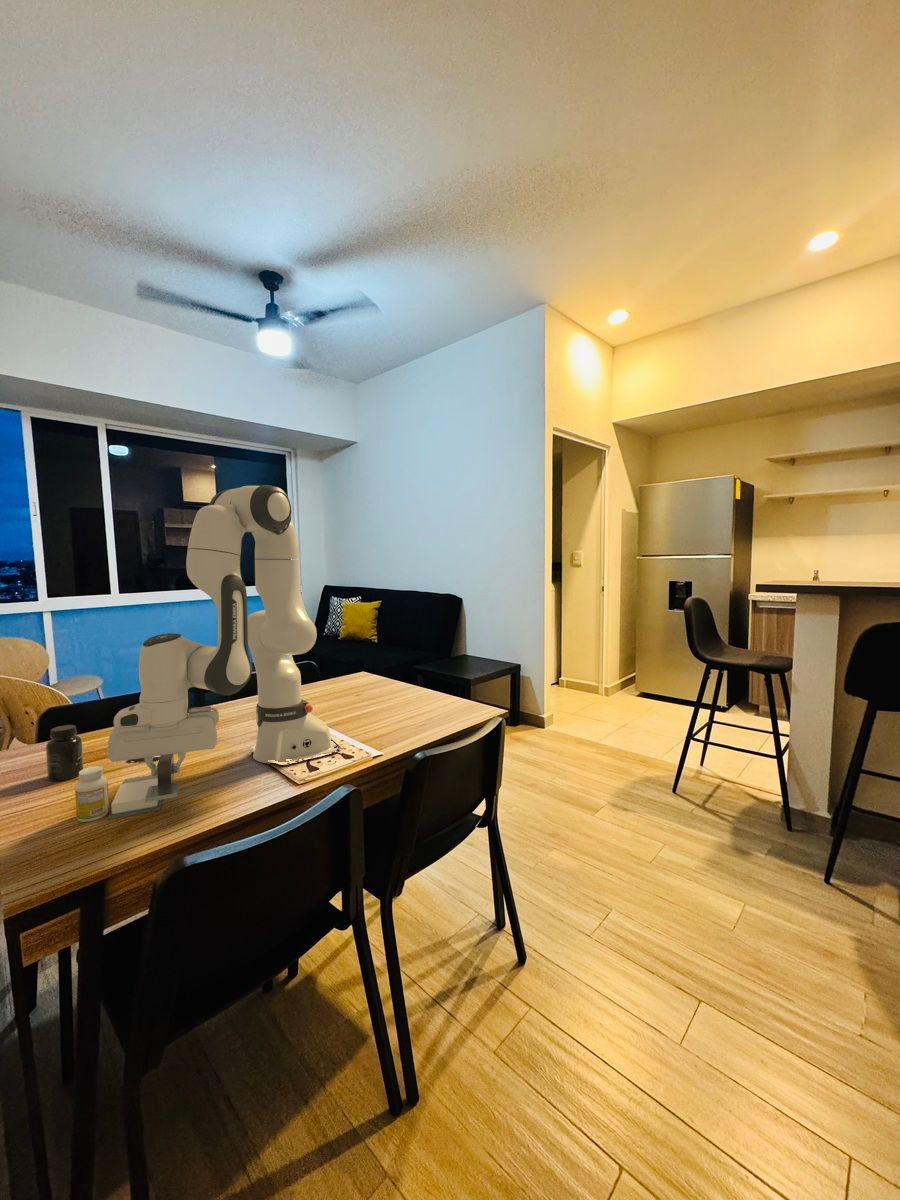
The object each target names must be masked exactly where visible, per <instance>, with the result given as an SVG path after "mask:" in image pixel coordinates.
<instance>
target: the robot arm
mask: <svg viewBox="0 0 900 1200" xmlns="http://www.w3.org/2000/svg"><path fill="white" fill-rule="evenodd" d="M291 521H292V505H291V501H290V499H289V496H288V494H287V493H286V492H285V491H284V490H283V489H282V488H280V487H278V486H274V485H269V484H268V485H267V484H262V485H244V486H241V487H236V488H231V489H229V488H228V489H224V490H222V491H219V492H217V493H216V494H215V495H214V496H213V497H212V498H211V500H210V502H209V503H208V505H205V506H202V507H201V508H199V510H198V511H197V512H196V514H195V517H194V520H193V523H192V527H191V529H190V533H189V539H188V545H187V553H186V562H185V563H186V565H185V567H186V573H187V577H188V579H189V580H190V581H191V583H192V584H193V585H194V586H195V587H196V588H197V589H199V590H200V591H201V592H204V594H206V595H207V596H208V597H209V598H210V599H211V600H212V601H213V603H214V604H215V606H216V611H217V646H214V645H208V644H203V643H199V642H196V641H193V640H190V639H188V638H186V637H184V636H183V635H182V634H181V633H174V632H170V633H169V632H168V633H162V634H157V635H154V636H152V637H149V638H147V639H146V640H144V641H143V643H142V645H141V647H140V652H139V657H138V658H139V659H138V680H139V683H140V687H141V688H140V689H141V692H140V695H139V703H137V704H134V705H131V706H129V707H128V706H127V707H126V708H123V709H120V710H119V711H118V712H117V713H116V714H115V716H114V718H113V726H114V728H112V730H111V732H110V733H109V736H108V742H107V754H106V755H107V759H108V760H110V761H111V762H112V763H113V762H123V761H128V760H131V759H138V758H145V762H144V763H145V765H146V766H147V767H148V768H149V770H151V771H150V773H151V774H150V775H151V776H152V777H153V776H158V774H157V765H158V764H157V765H156V764H155V763H154V762H155V761H152V760H153V758H154V756H161V755H169V754H174V755H175V754H177V758H178V760H177V762H174V763H173V765H172V774H174V775H175V774H180V773H181V765H182V763H183V761H184V760H185V759H186V754H187V753H189V752H190V753H191V752H198V751H206V750H207V751H208V750H212V749H215V747H217V745H218V741H219V740H218V729H217V725H218V724H219V720H220V717H219V715H220V714H219V710H218V709H217V708H215V707H211V706H208V705H207V706H203V707H189V697H188V696H189V693H188V690H189V689H191V688H198V689H203V690H208V691H211V692H213V693H216V694H219V695H222V696H231V695H233V694H236V693H238V692H240V691H241V690H242V689H243V688H244V687H245V686H246V685H247V683H249V681H250V678H251V676H252V672H253V671H252V670H253V664H254V668H255V672H256V680H257V704H256V709H255V717H256V718H255V719H256V721H255V722H256V725H257V733H256V742H255V745H254V746H255V748H254V751H253V754H252V757H253V759H254V760H255V761H257V762H260V763H262V764H269V763H268V760H275V761H278V762H289V761H286V759H292V760H290V761H294V760H299V759H304V758H308V757H311V756H316V755H321V754H326V753H329V752H334V751H336V750H337V749H338V747H337V748H334V747H336V746H337V745H336V744H335V743H334V742H333V741H331V736H332V735H331V732H330V729H329V726H328V725H327V723H326V722H325V721H324V720H322V719H320V718H318V716H315V715H314V714H312V711H313V705H312V704H311V703H309V702H308V701H307V700H306V699H302V677H301V671H300V669H299V668H298V666H297V665H296V663H295V661H294V658H293V656H296V655H302V654H305V653H307V652H309V651H310V650H311V649H312V648H313V647H314V645H315V644H316V641H317V635H318V633H317V627H316V625H315V624H314V622H313V621H312V620H311V618H310V616H308V613H307V609H306V607H305V604H304V603H305V602H304V599H303V597H302V592H301V585H300V583H301V582H300V581H301V580H300V560H299V559H300V553H299V552H300V551H299V541H298V536H297V532H296V528H295V525H294V523H293V522H291ZM245 533H251V534H252V537H253V539H254V542H255V544H254V545H255V546H254V578H255V579H254V581H255V582H254V583H255V584H254V585H255V590H256V592H257V593H258V595H259V597H260V598H261V602H262V604H263V608H264V609H262V610H257V611H255V612H252V613H250V614H248V594H247V588H246V584H245V582H244V581H243V579H242V574H241V554H242V553H241V552H242V540H243V537H244V535H245ZM249 649H250V650H249ZM251 657H252V658H251ZM252 661H253V664H252Z"/></svg>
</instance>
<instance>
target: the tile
mask: <svg viewBox="0 0 900 1200" xmlns="http://www.w3.org/2000/svg"><path fill="white" fill-rule="evenodd" d="M123 783H124V782H123ZM123 783H120V785H119V786H118V788H117V791H116V793H115V796H114V798H113V800H112V802H111V810H112V814H113V815H115V814H120V813H126V812H131V811H137V810H142V809H148V808H153V807H157V805H158V801H159V800H155V801H149V802H145V797H146V794H147V791H148V788H149V786H155V785H158V778H155V779H149V780H143V781H137V782H130V783H124V784H123Z"/></svg>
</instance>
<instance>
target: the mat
mask: <svg viewBox="0 0 900 1200" xmlns="http://www.w3.org/2000/svg"><path fill="white" fill-rule="evenodd" d="M155 778H158V776H153V777H152V776H151V774H150V775H144V776H143V775H142V776H137V777H132V778H131V777H130V778H125V779H124V781H123V783H122V784H124V783H130V782H137V781H143V780H149V779H155ZM162 803H163V799H161V800H159V801H158V805H157V807H153V808H148V809H142V810H137V811H131V812H126V813H120V814H115V815H113V814H112V809H111V811H110V813H109V815H108V818H107V819H108V820H114V819H118V818H124V817H130V816H135V815H140V814H146V812H147V813H150V812H152V813H153V812H156V811H160V810H161V807H162Z"/></svg>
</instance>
